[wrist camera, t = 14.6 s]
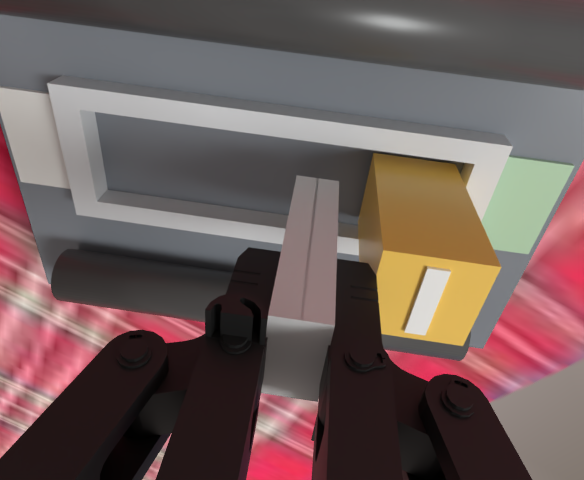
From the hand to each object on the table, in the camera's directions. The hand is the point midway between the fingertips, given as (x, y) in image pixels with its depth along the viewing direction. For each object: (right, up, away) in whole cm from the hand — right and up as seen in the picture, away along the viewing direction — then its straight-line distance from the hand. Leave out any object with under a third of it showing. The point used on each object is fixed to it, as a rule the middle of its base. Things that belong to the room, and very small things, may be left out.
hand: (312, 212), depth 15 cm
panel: (-1, +3, +4) cm, 5 cm away
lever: (+4, +1, +2) cm, 4 cm away
